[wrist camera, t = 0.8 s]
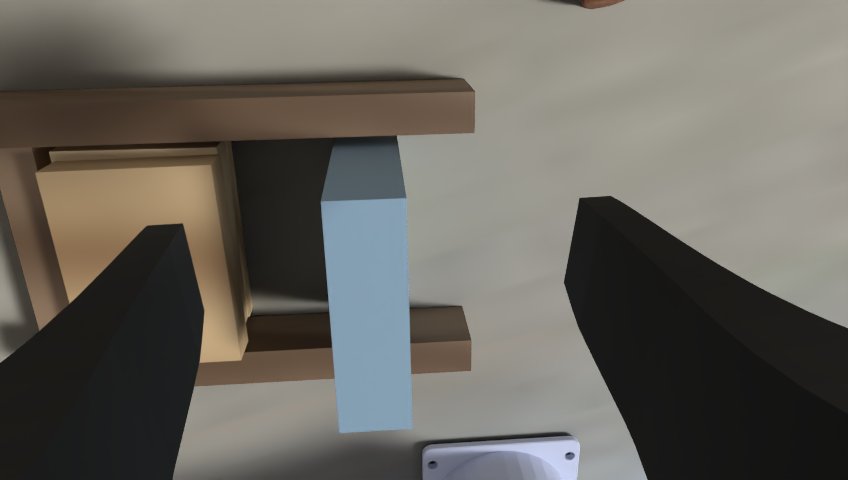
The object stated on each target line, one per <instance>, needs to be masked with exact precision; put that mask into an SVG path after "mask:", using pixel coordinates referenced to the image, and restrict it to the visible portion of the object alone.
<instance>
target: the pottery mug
mask: <svg viewBox="0 0 848 480" xmlns="http://www.w3.org/2000/svg"><path fill="white" fill-rule="evenodd" d="M621 1H624V0H581V4H582V6H583V7H586V8H588V9H595V8H601V7H606V6H610V5H613V4H616V3H619V2H621Z"/></svg>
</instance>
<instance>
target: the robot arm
mask: <svg viewBox="0 0 848 480" xmlns="http://www.w3.org/2000/svg"><path fill="white" fill-rule="evenodd" d="M564 284H565V287H566V290H567V294H568V297H569V300H570V303H571V307H572V310H573V313H574V316H575V318H576V321H577V324H578V327H579V329H580V331H581V334H582V336H583V338H584V340H585V342H586V344H587V346H588V348H589V350H590V352H591V354H592V356H593V358H594V361H595V363H596V365H597V367H598V369H599V371H600V373H601V375H602V377H603V379H604V381H605V383H606V385H607V387H608V389H609V391H610V393H611V395H612V397H613V399H614V401H615V403H616V405H617V407H618V409H619V411H620V413H621V415H622V417H623V419H624V421H625V423H626V425H627V428H628V430H629V432H630V435H631V437H632V439H633V441H634V444H635V446H636V449H637V452H638V454H639V457H640V460H641V463H642V465H643V468H644V471H645V474H646V476H647V479H648V480H848V328H846V327H843V326H841V325H838V324H836V323H833V322H831V321H828V320H826V319H824V318H822V317H819V316H817V315H815V314H812V313H810V312H808V311H806V310H804V309H802V308H800V307H798V306H796V305H793V304H791V303H789V302H787V301H785V300H783V299H781V298H779V297H777V296H775V295H773V294H771V293H769V292H767V291H765V290H763V289H761V288H759V287H757V286H755V285H754V284H752V283H750V282H748V281H746V280H745V279H743V278H741V277H739V276H738V275H736V274H734V273H732V272H731V271H729V270H727V269H726V268H724V267H722V266H720V265H719V264H717V263H715V262H714V261H712V260H710V259H709V258H707V257H706V256H704V255H702V254H701V253H699V252H698V251H696V250H694V249H693V248H691V247H690V246H688V245H687V244H685V243H683V242H682V241H680V240H679V239H677V238H676V237H674V236H673V235H671V234H670V233H668V232H667V231H665V230H664V229H662V228H661V227H659V226H658V225H656V224H655V223H653V222H652V221H650V220H649V219H647V218H646V217H644V216H643V215H641V214H639V213H638V212H636V211H635V210H633V209H632V208H630V207H629V206H627V205H625V204H624V203H622V202H621V201H619V200H617V199H615V198H613V197H612V196H604V197H588V198H580V199H579V204H578V210H577V215H576V221H575V226H574V231H573V237H572V242H571V247H570V253H569V258H568V264H567V269H566V274H565V280H564ZM204 312H205V311H204V306H203V302H202V298H201V294H200V290H199V286H198V282H197V278H196V274H195V270H194V266H193V262H192V258H191V254H190V250H189V245H188V241H187V237H186V233H185V229H184V225H183V223H179V224H163V225H148V226H146V227H145V228H144V229H143V230H142V231H141V232H140V233H139V234H138V235H137V236H136V237H135V238H134V239H133V240H132V241H131V242H130V243H129V244H128V245H127V246H126V247H125V248H124V249H123V250H122V251H121V253H120V254H119V255H118V256H117V257H116V258H115V259H114V260H113V261H112V262H111V263H110V264H109V265H108V266H107V267H106V268H105V269H104V270H103V271H102V272H101V273H100V274H99V275H98V276H97V277H96V278H95V279H94V280H93V281H92V282H91V283H90V284H89V285H88V286H87V287H86V288H85V289H84V290H83V291H82V292H81V293H80V294H79V295H78V296H77V297H76V298H75V299H74V300H73V301H72V302H71V303H70V304H68V305H67V306H66V307H65V308H64V309H63V310H62V311H61V312H60V313H59V314H57V315H56V316H55V317H54V318H53V319H52V320H51V321H50V322H49V323H48V324H46V325H45V326H44V327H43V328H42V329H41V330H40V331H39V332H38V333H36V334H35V335H34V336H33V337H32V338H31V339H30V340H28V341H27V342H26V343H25V344H24V345H22V346H21V347H20V348H19V349H17V350H16V351H15V352H14V353H12V354H11V355H10V356H9V357H8V358H6V359H5V360H4V361H2V362H1V363H0V480H172V478H173V473H174V469H175V464H176V460H177V456H178V452H179V448H180V443H181V439H182V435H183V431H184V427H185V423H186V418H187V414H188V410H189V406H190V402H191V397H192V393H193V389H194V384H195V380H196V376H197V371H198V367H199V362H200V355H201V346H202V336H203V324H204ZM579 451H580V444H579V442H578V440H577V438H576V437H574V436H557V437H542V438H526V439H510V440H495V441H479V442H463V443H448V444H432V445H428V446H426V447H425V448H424V449H423V451H422V475H423V480H577V472H578V462H579ZM568 452H572V453H571V454H569V455H565V454H566V453H568ZM431 461H436V462H435V463H433V464H429V462H431Z"/></svg>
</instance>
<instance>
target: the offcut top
mask: <svg viewBox="0 0 848 480" xmlns="http://www.w3.org/2000/svg"><path fill="white" fill-rule="evenodd" d="M35 174H36V178H37V182H38V186H39V190H40V193H41V197H42V201H43V205H44V209H45V212H46V216H47V220H48V224H49V228H50V231H51V235H52V239H53V243H54V247H55V250H56V254H57V258H58V262H59V266H60V269H61V273H62V277H63V281H64V285H65V288H66V292H67V296H68V300H69V304H70V303H71V302H72V301H73V300H74V299H75V298H76V297H77V296H78V295H79V294H80V293H81V292H82V291H83V290H84V289H85V288H86V287H87V286H88V285H89V284H90V283H91V282H92V281H93V280H94V279H95V278H96V277H97V276H98V275H99V274H100V273H101V272H102V271H103V270H104V269H105V268H106V267H107V266H108V265H109V264H110V263H111V262H112V261H113V260H114V259H115V258H116V257H117V256H118V255H119V254H120V253H121V251H122V250H123V249H124V248H125V247H126V246H127V245H128V244H129V243H130V242H131V241H132V240H133V239H134V238H135V237H136V236H137V235H138V234H139V233H140V232H141V231H142V230H143V229H144V228H145V227H146V226H148V225H163V224H179V223H183V225H184V229H185V233H186V237H187V241H188V245H189V250H190V254H191V258H192V262H193V266H194V270H195V274H196V278H197V282H198V286H199V290H200V294H201V298H202V302H203V306H204V311H205V312H204V324H203V336H202V346H201V355H200V362H199V363H204V362H221V361H238V360H242V357H243V354H244V352H245V349H246V346H247V343H248V335H247V328H246V321H245V315H244V308H243V301H242V295H241V288H240V281H239V275H238V268H237V261H236V255H235V248H234V241H233V234H232V228H231V221H230V214H229V208H228V201H227V194H226V188H225V181H224V174H223V168H222V161H221V154H212V155H188V156H165V157H142V158H120V159H97V160H74V161H54V162H53V163H51V164H49V165H47V166H46V167H44V168H42V169H40V170H39V171H37V172H35Z"/></svg>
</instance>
